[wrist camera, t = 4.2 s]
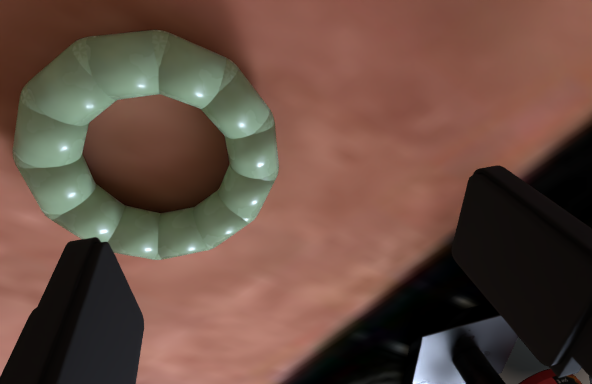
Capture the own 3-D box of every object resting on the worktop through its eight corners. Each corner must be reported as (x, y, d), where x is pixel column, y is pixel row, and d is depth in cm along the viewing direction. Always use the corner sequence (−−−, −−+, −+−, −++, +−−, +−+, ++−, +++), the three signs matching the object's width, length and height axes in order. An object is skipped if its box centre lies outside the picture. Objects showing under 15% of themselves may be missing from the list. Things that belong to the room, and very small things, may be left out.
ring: (85, 255, 17) (73, 287, 15) (-27, 44, 11) (-63, 58, 10) (280, 216, 18) (289, 242, 16) (259, 14, 13) (268, 23, 11)
